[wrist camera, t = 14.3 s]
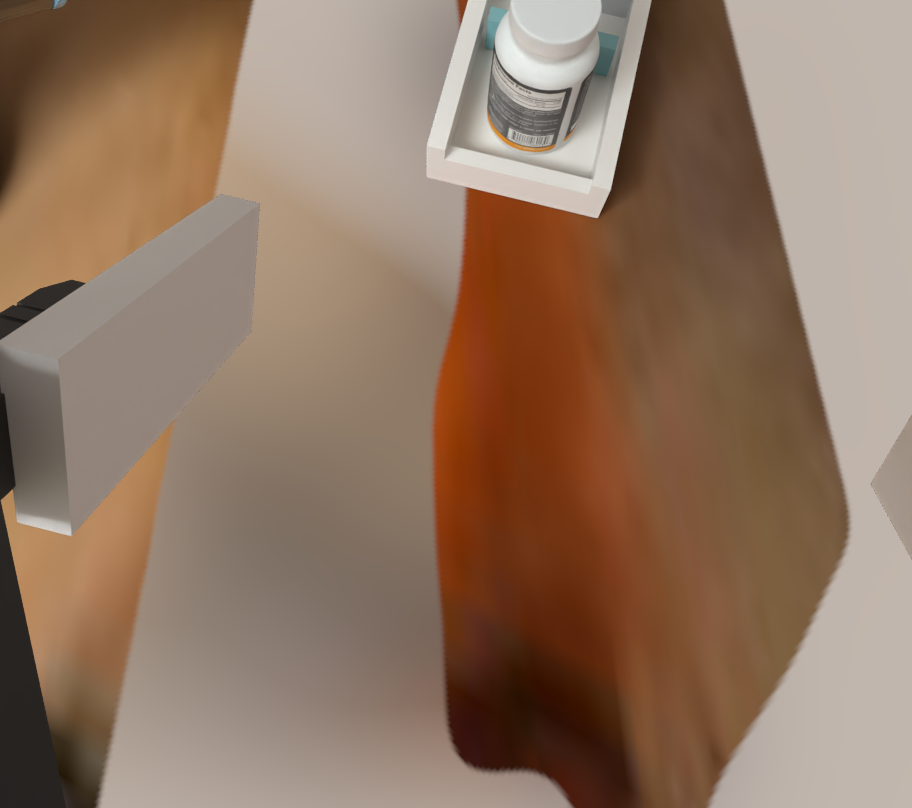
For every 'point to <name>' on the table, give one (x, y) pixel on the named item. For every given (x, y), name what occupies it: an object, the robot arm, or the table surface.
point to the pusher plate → (606, 40)
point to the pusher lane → (545, 175)
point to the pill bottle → (542, 72)
